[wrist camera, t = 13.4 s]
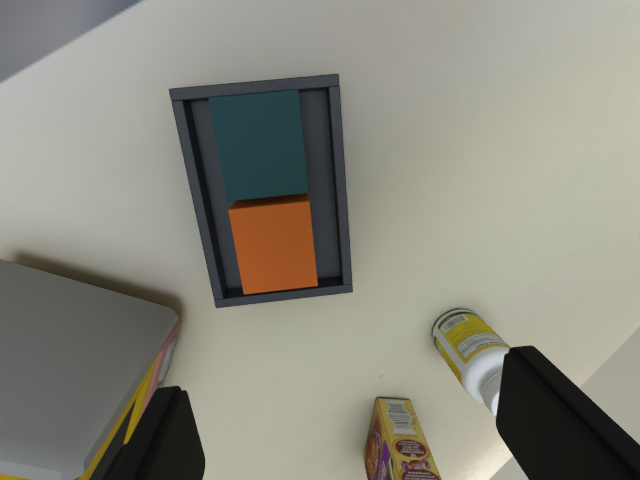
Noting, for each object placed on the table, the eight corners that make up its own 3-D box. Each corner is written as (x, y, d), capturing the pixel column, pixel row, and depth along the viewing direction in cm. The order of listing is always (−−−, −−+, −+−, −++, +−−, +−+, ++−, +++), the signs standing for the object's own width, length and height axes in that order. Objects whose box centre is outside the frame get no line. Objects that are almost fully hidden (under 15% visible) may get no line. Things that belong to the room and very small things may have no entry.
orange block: (236, 199, 28) (228, 209, 24) (307, 191, 28) (309, 201, 25) (249, 274, 30) (243, 294, 27) (315, 266, 31) (318, 286, 27)
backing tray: (180, 92, 26) (168, 88, 23) (334, 78, 26) (338, 73, 24) (221, 294, 32) (215, 308, 29) (348, 279, 32) (353, 292, 30)
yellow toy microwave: (148, 448, 37) (15, 738, 19) (-12, 415, 34) (-339, 721, 16) (195, 297, 31) (73, 507, 14) (11, 242, 28) (-435, 422, 11)
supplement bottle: (469, 356, 36) (530, 435, 27) (423, 347, 35) (470, 425, 26) (490, 313, 34) (562, 381, 25) (442, 302, 34) (499, 368, 24)
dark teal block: (220, 102, 26) (207, 97, 22) (297, 95, 26) (298, 89, 22) (235, 191, 28) (226, 201, 24) (306, 184, 28) (308, 193, 24)
